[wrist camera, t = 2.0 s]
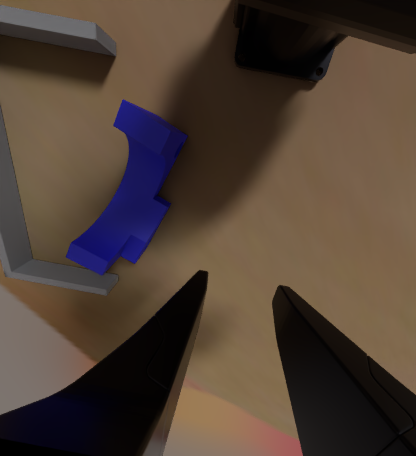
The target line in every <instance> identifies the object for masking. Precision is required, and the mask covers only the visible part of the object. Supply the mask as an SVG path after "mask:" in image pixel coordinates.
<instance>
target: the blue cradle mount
mask: <svg viewBox="0 0 416 456" xmlns="http://www.w3.org/2000/svg"><path fill="white" fill-rule="evenodd" d="M113 126H115V127H116V128H118V129H119V130H121V131H122V132H124V133H125V134H126V136H127V139H128V143H129V158H128V163H127V167H126V171H125V174H124V176H123V179H122V181H121V184H120V186H119V188H118V190H117V192H116V194H115V195H114V197H113V199H112V200H111V202H110V203H109V205H108V206H107V208H106V209H105V211H104V212H103V213H102V214H101V216H100V217H99V218H98V219H97V220H96V221H95V223H94V224H93V225H92V226H91V227H90V228H89V229H88V230H87V231H86V232H84V233H83V234H82V235H81V236H80V237H78V238H77V239H76V240H74V241H73V242H71V244H70V247H69V250H68V252H67V255H66V258H68V259H70V260H72V261H74V262H76V263H78V264H80V265H82V266H84V267H86V268H88V269H90V270H92V271H94V272H96V273H98V274H100V275H103V274H104V273H105V272H106V271H107V270H108V269H109V268H110V267H111V266H112V265H113V263H114V262H115V261H116V260H117V259H118V258H119V257H120V256H121V257H123V258H125V259H127V260H129V261H131V262H133V263H134V264H135V263H136V262H137V260H138V259H139V258H140V256H141V255H142V254H143V252H144V251H145V250H146V248H147V246H148V244H149V243H150V241H151V239H152V237H153V235H154V234H155V232H156V230H157V228H158V226H159V225H160V223H161V221H162V219H163V217H164V216H165V214H166V212H167V210H168V208H169V207H170V205H171V203H169V202H168V201H166V200H164V199H163V198H161V197H159V196H158V193H159V191H160V189H161V187H162V185H163V183H164V181H165V179H166V177H167V176H168V174H169V172H170V170H171V168H172V166H173V164H174V162H175V160H176V158H177V156H178V154H179V152H180V150H181V148H182V146H183V144H184V142H185V141H186V139H187V137H188V136H187V135H186V134H184V133H183V132H181V131H180V130H178V129H177V128H175V127H174V126H172V125H171V124H169V123H168V122H166V121H165V120H163V119H162V118H160V117H159V116H157V115H156V114H153V113H151V112H149V111H147V110H145V109H143V108H141V107H138V106H136V105H134V104H132V103H130V102H128V101H125V100H122V103H121V106H120V108H119V111H118V114H117V117H116V119H115V122H114V125H113Z"/></svg>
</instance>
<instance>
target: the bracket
mask: <svg viewBox="0 0 416 456" xmlns="http://www.w3.org/2000/svg"><path fill="white" fill-rule="evenodd" d="M0 34H1V35H6V36H11V37H17V38H22V39H27V40H32V41H38V42H43V43H48V44H54V45H59V46H64V47H69V48H75V49H80V50H85V51H91V52H96V53H101V54H106V55H112V56H116V42H115V41H114V40H113V39H112V38H110V37H109V36H108V35H107V34H106V33H105V32H104V31H103V30H102V29H101V28H100V27H99V26H98V25H97V24H96V23H92V22H87V21H82V20H76V19H71V18H66V17H61V16H55V15H50V14H45V13H39V12H34V11H29V10H24V9H18V8H13V7H8V6H2V5H0ZM0 260H1V263H2V266H3V270H4V273H5V277H10V278H15V279H20V280H26V281H31V282H36V283H42V284H47V285H52V286H58V287H63V288H68V289H74V290H79V291H85V292H90V293H95V294H101V295H106V296H107V295H108V293H109V292H110V291H111V289H112V288H113V287H114V286H115V284H116V283H117V282H118V275H115V274H110V273H104V274H103V275H100V274H98V273H96V272H94V271H92V270H89V269H83V268H78V267H73V266H67V265H62V264H57V263H51V262H46V261H41V260H35V259H33V258H32V253H31V248H30V243H29V239H28V234H27V229H26V225H25V220H24V215H23V211H22V206H21V201H20V196H19V192H18V187H17V182H16V178H15V173H14V168H13V163H12V159H11V154H10V149H9V145H8V140H7V135H6V131H5V126H4V121H3V116H2V112H1V107H0Z"/></svg>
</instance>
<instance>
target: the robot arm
mask: <svg viewBox="0 0 416 456" xmlns="http://www.w3.org/2000/svg"><path fill="white" fill-rule="evenodd" d="M233 23H234V25H235V27H236V28H240V30H239V35H238V41H237V47H236V52H235V64H236V66H237V67H239V68H244V69H249V70H255V71H260V72H265V73H270V74H276V75H281V76H286V77H292V78H297V79H302V80H307V81H313V82H317V81H319V80H321V79H322V78H323V77H324V76H325V75H326V72H327V69H328V66H329V63H330V60H331V58H332V55H333V52H334V49H335V47H336V46H337V45H338V44H339V43H341V42H342V41H343V40H344V39H345V38H346V37H347V36H351V37H355V38H358V39H362V40H365V41H368V42H372V43H375V44H379V45H382V46H385V47H389V48H392V49H395V50H399V51H402V52H406V53H409V54H413V53H416V0H235V9H234V21H233ZM240 55H244V57H245V60H244V61H239V59H238V57H239V56H240ZM316 69H319V70H320V72H321V73H320V76H317V75H316ZM207 283H208V272H207V271H203V270H199V271H198V272H197V273H196V274H195V275H194V276H193V277H192V278H191V279H190V280H189V281H188V282H187V283H186V284H185V285H184V286H183V287H182V288H181V289H180V290H179V291H178V292H177V293H176V294H175V295H174V296H173V297H172V298H171V299H170V300H169V301H168V302H167V303H166V304H165V305H164V306H163V307H162V308H161V309H160V310H159V311H158V312H157V313H156V314H155V315H154V316H153V317H152V318H151V319H150V320H149V321H148V322H147V323H146V324H144V325H143V326H142V327H141V328H140V329H139V330H138V331H137V332H136V333H135V334H134V335H132V336H131V337H130V338H129V339H128V340H126V341H125V342H124V343H123V344H122V345H120V346H119V347H118V348H117V349H115V350H114V351H113V352H112V353H110V354H109V355H108V356H107V357H105V358H104V359H103V360H102V361H100V362H99V363H98V364H96V365H95V366H94V367H93V368H91V369H90V370H89V371H88V372H86V373H85V374H84V375H83V376H81V377H80V378H79V379H77V380H76V381H75V382H73V383H72V384H70V385H69V386H67V387H66V388H64V389H63V390H61V391H59V392H57V393H55V394H53V395H51V396H49V397H46V398H44V399H41V400H39V401H36V402H33V403H31V404H28V405H25V406H23V407H20V408H18V409H15V410H12V411H9V412H7V413H4V414H2V415H0V456H163V452H164V449H165V445H166V442H167V438H168V434H169V431H170V427H171V424H172V420H173V417H174V413H175V410H176V406H177V402H178V399H179V395H180V392H181V388H182V385H183V381H184V378H185V374H186V370H187V367H188V363H189V360H190V356H191V353H192V349H193V346H194V342H195V339H196V335H197V331H198V328H199V323H200V319H201V314H202V309H203V305H204V300H205V295H206V291H207ZM272 308H273V316H274V324H275V333H276V340H277V345H278V349H279V353H280V358H281V362H282V366H283V371H284V375H285V379H286V384H287V388H288V393H289V397H290V401H291V406H292V410H293V414H294V419H295V423H296V427H297V432H298V436H299V440H300V444H301V449H302V453H303V456H416V395H415V394H414V393H413V392H411V391H410V390H409V389H408V388H406V387H405V386H404V385H403V384H402V383H400V382H399V381H398V380H397V379H395V378H394V377H393V376H392V375H391V374H390V373H388V372H387V371H386V370H385V369H384V368H382V367H381V366H380V365H379V364H378V363H377V362H375V361H374V360H373V359H372V358H371V357H370V356H367V354H366V353H365V352H364V351H363V350H362V349H360V348H359V347H358V346H357V345H356V344H355V343H353V342H352V341H351V340H350V339H349V338H348V337H346V336H345V335H344V334H343V333H342V332H341V331H340V330H338V329H337V328H336V327H335V326H334V325H333V324H331V323H330V322H329V321H328V320H327V319H326V318H324V317H323V316H322V315H321V314H320V313H319V312H318V311H316V310H315V309H314V308H313V307H312V306H311V305H309V304H308V303H307V302H306V301H305V300H304V299H302V298H301V297H300V296H299V295H298V294H297V293H296V292H294V291H293V290H292V289H291V288H290V287H288V286H283V285H279V286H278V287H277V290H276V292H275V295H274V297H273V300H272Z"/></svg>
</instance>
